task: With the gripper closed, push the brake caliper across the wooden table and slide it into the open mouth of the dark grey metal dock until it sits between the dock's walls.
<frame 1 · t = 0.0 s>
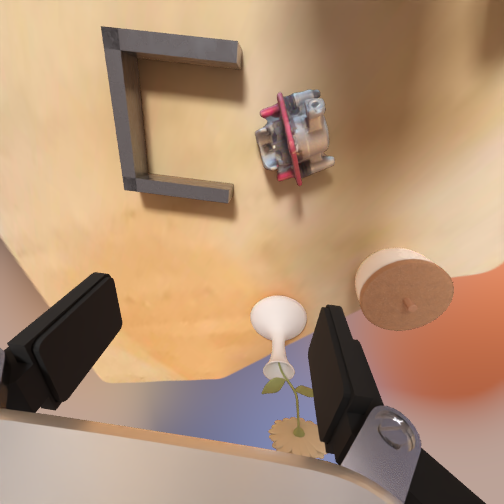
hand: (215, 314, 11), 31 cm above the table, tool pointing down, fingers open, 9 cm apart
dock: (189, 126, 36), on the table
flower in vase: (281, 313, 51), on the table
brake caliper: (291, 138, 36), on the table
lidded bowl: (382, 267, 44), on the table
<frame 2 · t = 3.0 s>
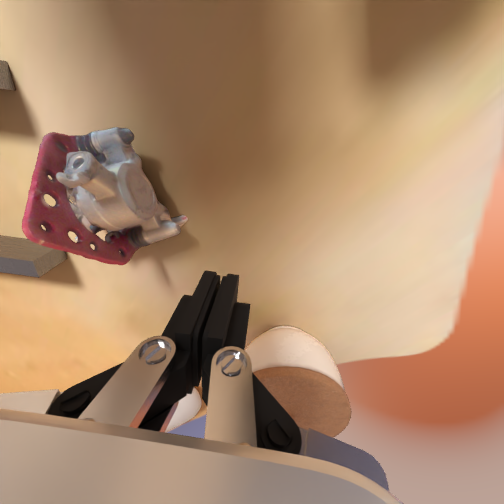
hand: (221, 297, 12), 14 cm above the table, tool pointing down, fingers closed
flower in vase: (175, 388, 41), on the table
brake caliper: (130, 188, 25), on the table
lidded bowl: (285, 343, 34), on the table
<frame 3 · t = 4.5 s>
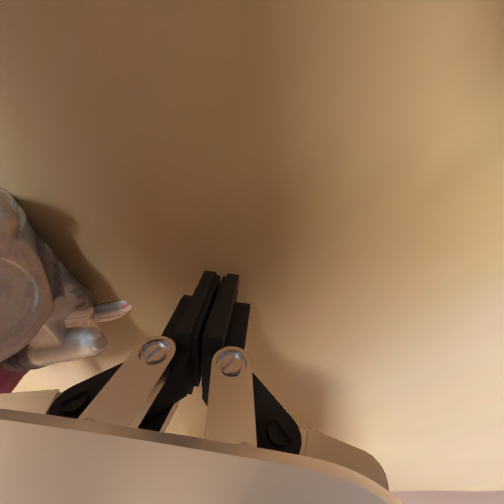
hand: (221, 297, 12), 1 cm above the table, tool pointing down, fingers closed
brake caliper: (25, 254, 14), on the table
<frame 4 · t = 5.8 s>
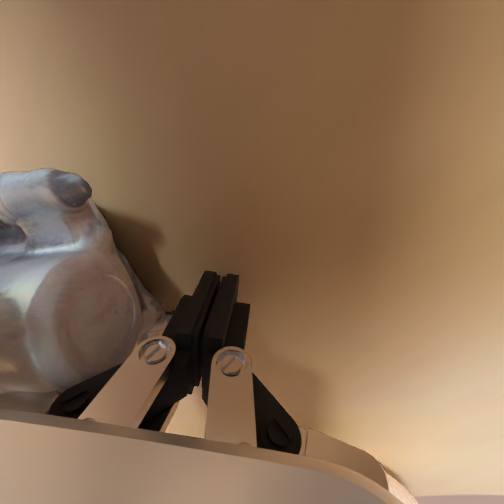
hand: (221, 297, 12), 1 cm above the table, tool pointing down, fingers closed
brake caliper: (96, 263, 14), on the table, touching gripper
lidded bowl: (341, 469, 22), on the table
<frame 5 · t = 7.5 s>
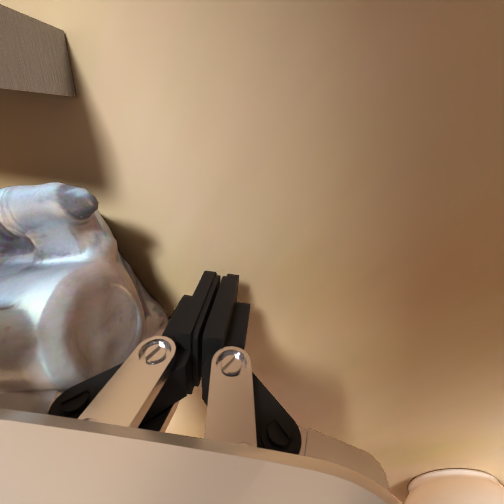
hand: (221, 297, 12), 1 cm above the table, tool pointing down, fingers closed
brake caliper: (100, 269, 14), on the table, touching gripper
lidded bowl: (450, 484, 22), on the table
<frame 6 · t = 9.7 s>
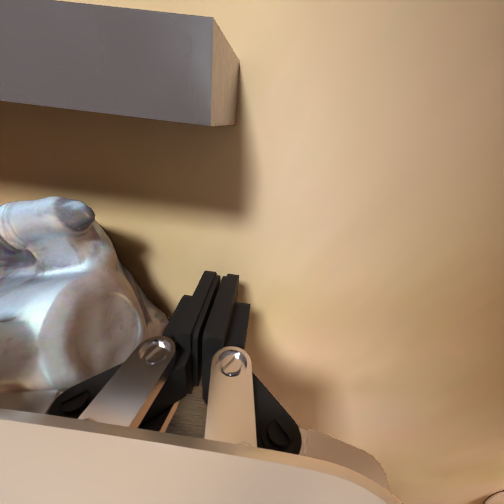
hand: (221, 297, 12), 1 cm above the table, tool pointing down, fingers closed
dock: (97, 264, 13), on the table
brake caliper: (102, 278, 14), on the table, touching gripper
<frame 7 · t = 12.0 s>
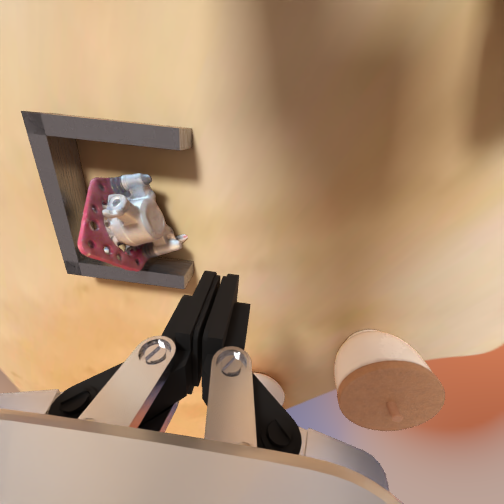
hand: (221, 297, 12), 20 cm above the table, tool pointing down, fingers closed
dock: (139, 204, 32), on the table
flower in vase: (258, 386, 46), on the table
brake caliper: (144, 213, 33), on the table
lidded bowl: (366, 345, 39), on the table
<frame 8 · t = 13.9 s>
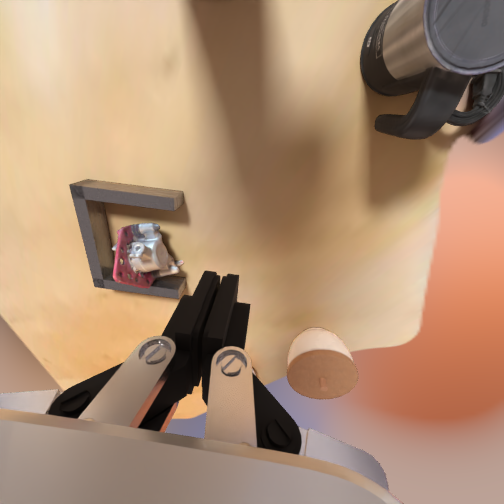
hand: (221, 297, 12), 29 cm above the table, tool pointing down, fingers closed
dock: (146, 238, 44), on the table
brake caliper: (153, 244, 45), on the table
milk frother: (426, 67, 30), on the table
lidded bowl: (315, 338, 53), on the table
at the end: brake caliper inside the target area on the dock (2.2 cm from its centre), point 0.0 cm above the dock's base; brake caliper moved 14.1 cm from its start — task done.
